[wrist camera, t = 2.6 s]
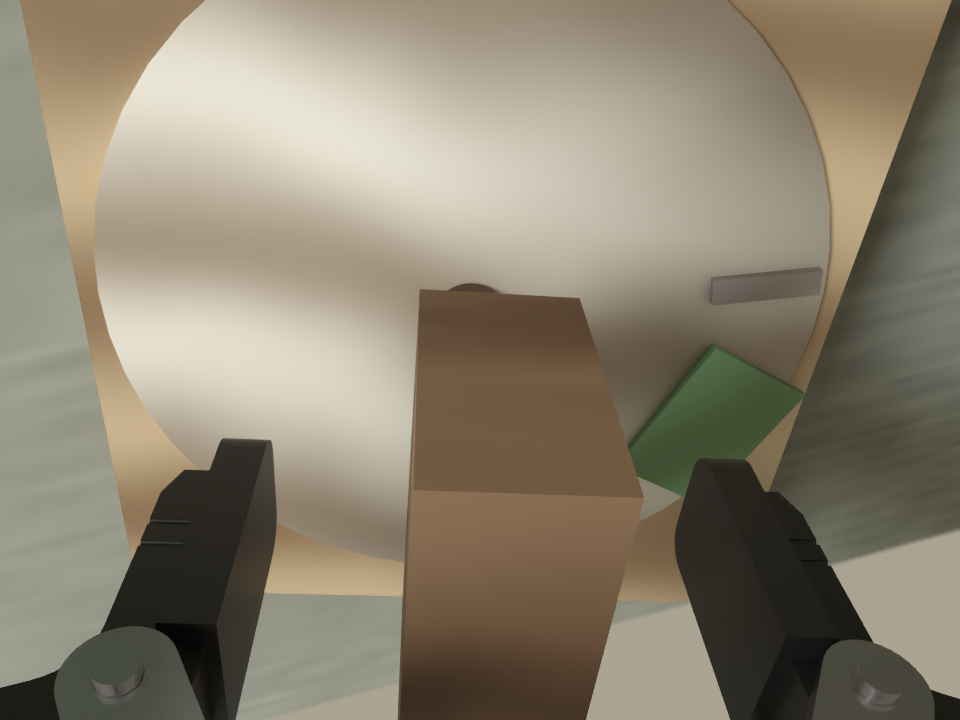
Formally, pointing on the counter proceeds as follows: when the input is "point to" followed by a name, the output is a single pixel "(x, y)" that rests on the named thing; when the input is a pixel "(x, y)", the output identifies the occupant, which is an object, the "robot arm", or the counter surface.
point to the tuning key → (510, 510)
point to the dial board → (458, 226)
